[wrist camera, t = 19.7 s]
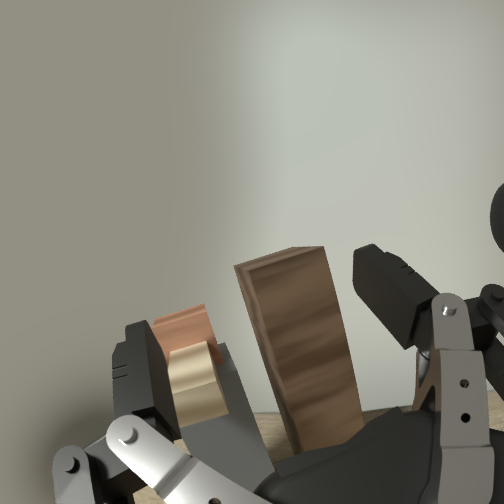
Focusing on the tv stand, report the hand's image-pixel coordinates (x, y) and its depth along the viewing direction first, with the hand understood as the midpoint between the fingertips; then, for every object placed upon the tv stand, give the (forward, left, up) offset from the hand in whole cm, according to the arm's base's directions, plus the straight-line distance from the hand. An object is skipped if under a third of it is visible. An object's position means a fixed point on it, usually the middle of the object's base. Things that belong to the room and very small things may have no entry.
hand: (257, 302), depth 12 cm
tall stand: (-5, -25, -33) cm, 41 cm away
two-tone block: (+6, -18, -10) cm, 22 cm away
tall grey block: (+7, -23, -33) cm, 41 cm away
